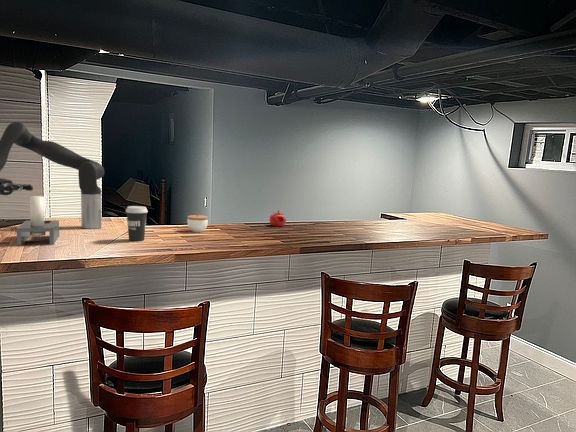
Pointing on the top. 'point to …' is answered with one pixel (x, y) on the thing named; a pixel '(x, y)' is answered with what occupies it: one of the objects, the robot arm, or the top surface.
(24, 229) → the keyhole plate
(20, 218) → the top surface
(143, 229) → the coffee cup
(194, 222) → the lidded jar
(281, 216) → the pomegranate
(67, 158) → the robot arm
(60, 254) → the top surface
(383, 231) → the top surface
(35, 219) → the peg
